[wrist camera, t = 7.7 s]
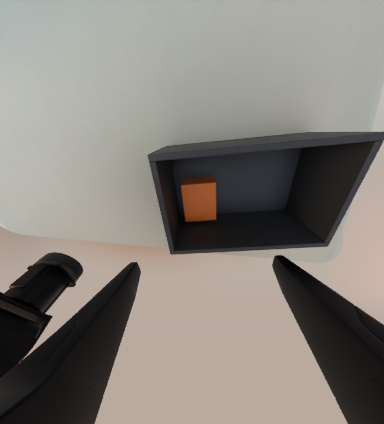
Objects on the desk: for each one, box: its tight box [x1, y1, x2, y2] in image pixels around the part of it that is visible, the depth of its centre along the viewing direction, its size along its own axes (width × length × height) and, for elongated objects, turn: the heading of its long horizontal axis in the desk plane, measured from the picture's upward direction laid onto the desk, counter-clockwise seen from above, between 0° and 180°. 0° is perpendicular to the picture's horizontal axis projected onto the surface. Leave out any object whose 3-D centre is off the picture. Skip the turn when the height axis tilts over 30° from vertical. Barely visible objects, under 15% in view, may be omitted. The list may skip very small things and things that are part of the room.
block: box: [181, 176, 216, 222], centre depth 18 cm, size 5×4×2 cm
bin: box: [148, 132, 384, 254], centre depth 15 cm, size 10×16×8 cm, turn 95°
